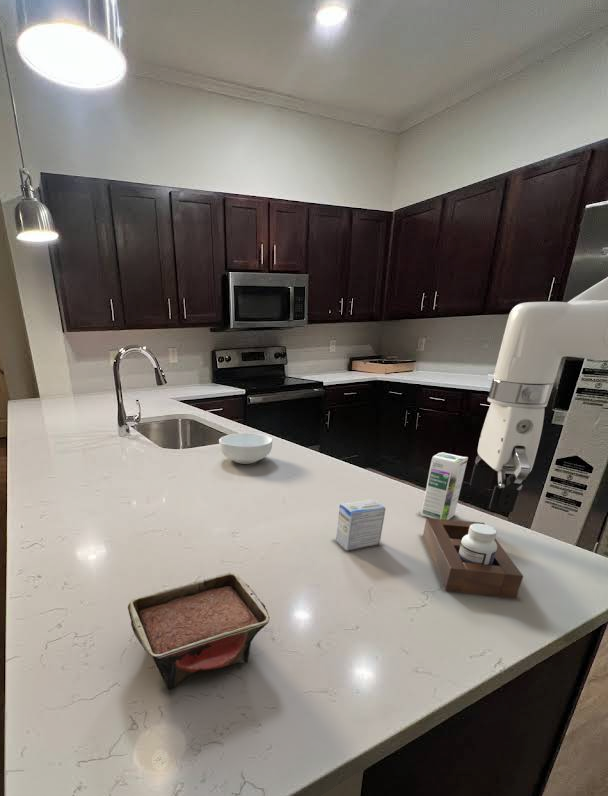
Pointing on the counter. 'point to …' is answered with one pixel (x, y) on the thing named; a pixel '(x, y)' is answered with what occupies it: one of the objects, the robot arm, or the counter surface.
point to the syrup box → (443, 486)
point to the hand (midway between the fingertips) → (489, 498)
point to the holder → (468, 576)
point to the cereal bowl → (245, 447)
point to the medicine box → (360, 524)
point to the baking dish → (198, 625)
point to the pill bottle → (478, 545)
